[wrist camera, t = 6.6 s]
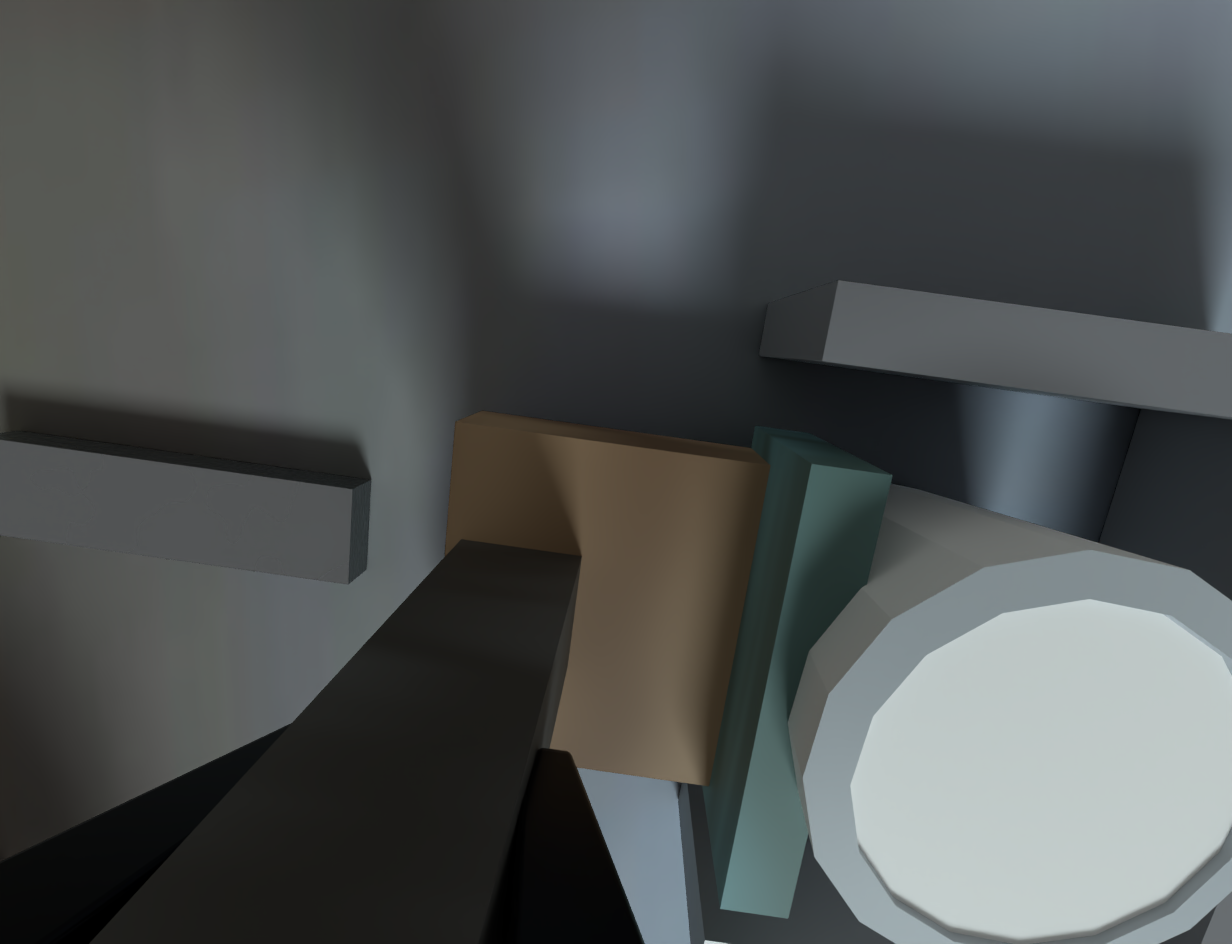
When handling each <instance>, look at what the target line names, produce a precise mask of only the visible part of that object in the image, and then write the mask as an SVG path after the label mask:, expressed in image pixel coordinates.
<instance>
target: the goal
mask: <svg viewBox="0 0 1232 944" xmlns="http://www.w3.org/2000/svg"><path fill="white" fill-rule="evenodd" d="M759 356H763V357H770V358H778V359H785V360H792V361H799V362H807V363H814V364H821V365H828V366H836V367H843V368H850V369H857V370H865V371H872V372H879V373H887V374H894V375H901V376H908V377H916V378H923V379H930V380H937V381H945V382H952V383H959V384H966V385H974V386H981V387H988V388H995V389H1003V390H1010V391H1017V392H1024V393H1032V394H1039V395H1046V396H1053V397H1061V398H1068V399H1075V400H1083V401H1090V402H1097V403H1104V404H1112V405H1119V406H1126V407H1133V408H1141V411H1140V414H1139V417H1138V421H1137V424H1136V427H1135V430H1134V433H1133V436H1132V440H1131V443H1130V446H1129V449H1128V452H1127V455H1126V459H1125V462H1124V465H1123V468H1122V471H1121V474H1120V478H1119V481H1118V484H1117V487H1116V490H1115V493H1114V497H1113V500H1112V503H1111V506H1110V509H1109V512H1108V515H1107V519H1106V522H1105V525H1104V528H1103V531H1102V534H1101V538H1100V541H1099V543H1100V544H1104V545H1107V546H1110V547H1114V548H1117V549H1120V550H1124V551H1127V552H1130V553H1134V554H1137V555H1140V556H1144V557H1147V558H1151V559H1154V560H1157V561H1161V562H1164V563H1167V564H1171V565H1174V566H1177V567H1181V568H1184V569H1187V570H1190V571H1192V572H1193V573H1194V574H1196V575H1197V576H1198V577H1200V578H1201V579H1203V580H1204V581H1205V582H1207V583H1208V584H1209V585H1211V586H1212V587H1214V588H1215V589H1216V590H1218V591H1219V592H1220V593H1222V594H1223V595H1224V596H1226V597H1227V598H1229V599H1230V600H1231V601H1232V334H1230V333H1222V332H1215V331H1208V330H1200V329H1193V328H1186V327H1178V326H1171V325H1164V324H1156V323H1149V322H1142V321H1134V320H1127V319H1120V318H1112V317H1105V316H1098V315H1090V314H1083V313H1076V312H1068V311H1061V310H1054V309H1046V308H1039V307H1032V306H1025V305H1017V304H1010V303H1003V302H995V301H988V300H981V299H973V298H966V297H959V296H951V295H944V294H937V293H929V292H922V291H915V290H907V289H900V288H893V287H885V286H878V285H871V284H863V283H856V282H849V281H841V280H837V281H834V282H831V283H828V284H825V285H822V286H819V287H816V288H813V289H810V290H807V291H804V292H801V293H798V294H795V295H792V296H789V297H786V298H783V299H780V300H777V301H774V302H771V303H768V307H767V313H766V318H765V324H764V330H763V335H762V341H761V346H760V352H759ZM678 805H679V816H680V827H681V839H682V850H683V862H684V873H685V884H686V896H687V907H688V919H689V930H690V942H691V944H895V943H894V942H892V941H890V940H889V939H887V938H885V937H884V936H882V935H881V934H879V933H877V932H876V931H874V930H872V929H871V928H869V927H867V926H866V925H864V924H862V923H861V922H859V921H858V919H857V918H856V916H855V915H854V913H853V912H852V911H851V909H850V908H849V906H848V905H847V903H846V902H845V900H844V899H843V898H842V896H841V895H840V893H839V892H838V890H837V889H836V888H835V886H834V885H833V883H832V882H831V880H830V879H829V877H828V876H827V875H826V873H825V872H824V870H823V869H822V867H821V866H820V864H819V863H818V862H817V860H816V859H815V857H814V854H813V850H812V846H811V842H810V838H809V834H808V837H807V841H806V845H805V850H804V854H803V858H802V862H801V867H800V871H799V875H798V879H797V884H796V888H795V892H794V896H793V901H792V905H791V909H790V913H789V918H788V919H787V918H780V917H773V916H766V915H759V914H752V913H745V912H738V911H732V910H725V909H720V905H719V898H718V891H717V884H716V877H715V870H714V864H713V857H712V850H711V843H710V836H709V829H708V822H707V815H706V809H705V802H704V795H703V788H702V785H696V784H689V783H681V789H680V794H679V800H678ZM1159 944H1232V892H1231V893H1229V894H1228V895H1227V896H1226V897H1225V898H1224V899H1223V900H1222V901H1221V902H1220V903H1219V904H1217V905H1216V906H1215V907H1214V908H1213V909H1212V910H1211V911H1210V912H1209V913H1208V914H1207V915H1205V916H1204V917H1203V918H1202V919H1201V920H1200V921H1199V922H1198V923H1197V924H1196V925H1194V926H1193V927H1192V928H1191V929H1190V930H1188V931H1186V932H1184V933H1181V934H1179V935H1177V936H1175V937H1173V938H1170V939H1168V940H1166V941H1164V942H1162V943H1159Z"/></svg>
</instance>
